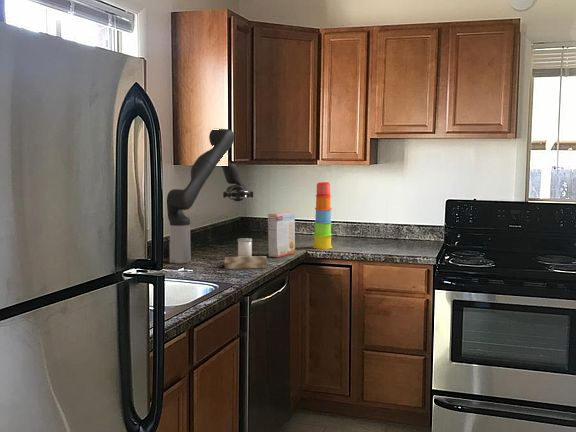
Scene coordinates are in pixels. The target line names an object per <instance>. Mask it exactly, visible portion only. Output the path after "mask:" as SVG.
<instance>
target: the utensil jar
mask: <svg viewBox="0 0 576 432" xmlns="http://www.w3.org/2000/svg"><path fill="white" fill-rule="evenodd" d="M252 246H253V238H251V237H250V238H249V237H244V238H243V237H242V238H240V237H239V238H237V257H251V256H253V255H252V253H253V247H252Z"/></svg>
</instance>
